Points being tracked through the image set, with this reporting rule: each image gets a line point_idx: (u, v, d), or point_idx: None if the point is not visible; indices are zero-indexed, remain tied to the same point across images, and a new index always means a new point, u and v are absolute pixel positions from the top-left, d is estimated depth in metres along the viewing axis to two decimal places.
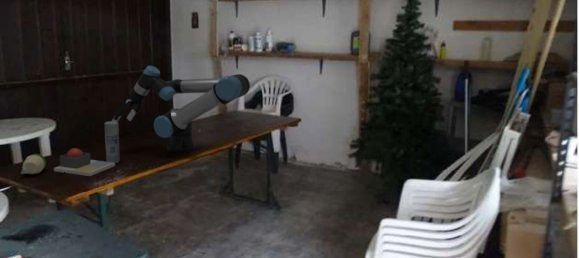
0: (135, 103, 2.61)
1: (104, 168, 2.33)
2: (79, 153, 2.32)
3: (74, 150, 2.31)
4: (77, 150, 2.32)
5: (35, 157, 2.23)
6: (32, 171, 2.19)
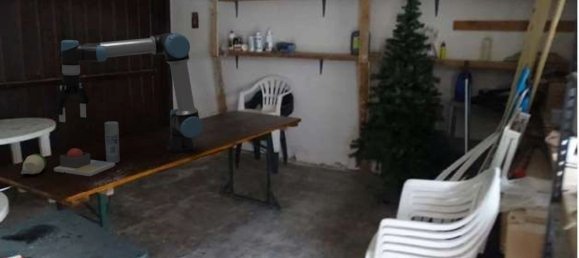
0: (73, 88, 2.26)
1: (104, 168, 2.33)
2: (79, 153, 2.32)
3: (74, 150, 2.31)
4: (77, 150, 2.32)
5: (35, 157, 2.23)
6: (32, 171, 2.19)
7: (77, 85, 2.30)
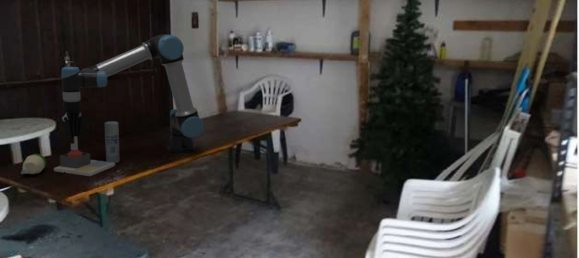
0: (74, 114, 2.28)
1: (104, 168, 2.33)
2: (79, 155, 2.32)
3: (74, 152, 2.32)
4: (77, 152, 2.32)
5: (35, 157, 2.23)
6: (32, 171, 2.19)
7: (78, 110, 2.31)
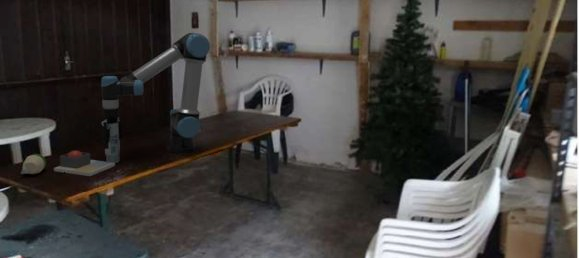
0: (113, 121, 2.41)
1: (104, 168, 2.33)
2: (79, 155, 2.32)
3: (74, 152, 2.32)
4: (77, 152, 2.32)
5: (35, 157, 2.23)
6: (32, 171, 2.19)
7: (116, 117, 2.45)
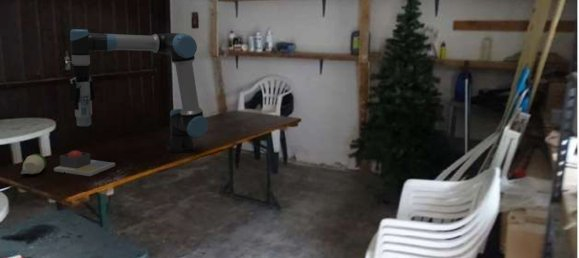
0: (83, 79, 2.19)
1: (104, 168, 2.33)
2: (79, 155, 2.32)
3: (74, 152, 2.32)
4: (77, 152, 2.32)
5: (35, 157, 2.23)
6: (32, 171, 2.19)
7: (87, 75, 2.22)
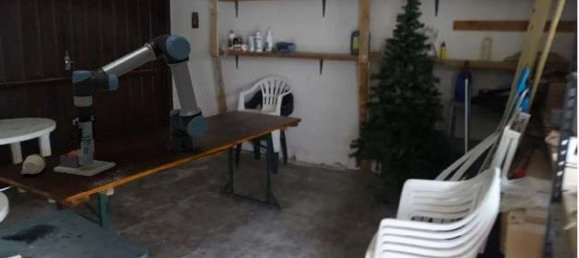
0: (85, 119, 2.22)
1: (104, 168, 2.33)
2: None
3: (74, 152, 2.32)
4: None
5: (35, 157, 2.23)
6: (32, 171, 2.19)
7: (89, 115, 2.26)
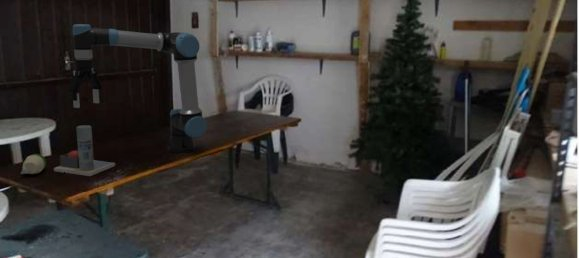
0: (86, 73, 2.22)
1: (104, 168, 2.33)
2: None
3: (74, 152, 2.32)
4: (77, 152, 2.32)
5: (35, 157, 2.23)
6: (32, 171, 2.19)
7: (90, 70, 2.25)
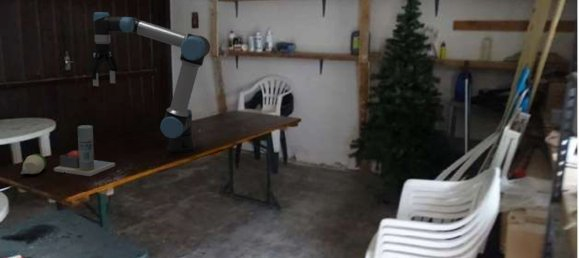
0: (104, 56, 2.51)
1: (104, 168, 2.33)
2: None
3: (74, 152, 2.32)
4: (77, 152, 2.32)
5: (35, 157, 2.23)
6: (32, 171, 2.19)
7: (108, 53, 2.54)
